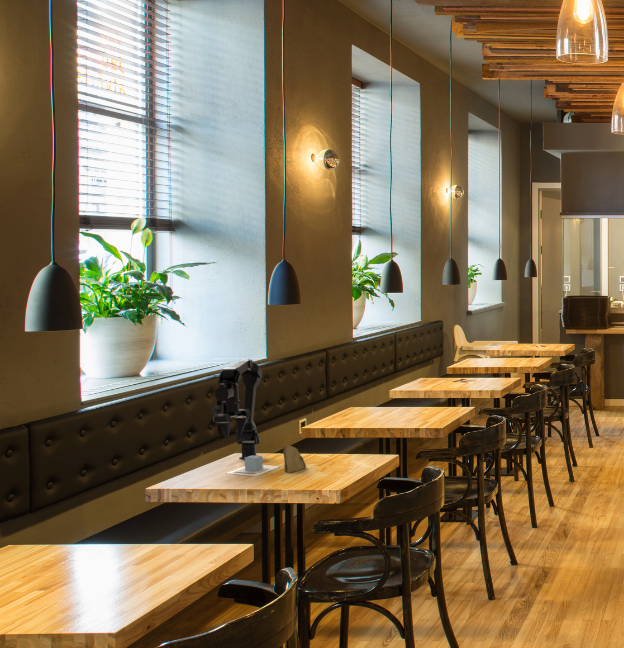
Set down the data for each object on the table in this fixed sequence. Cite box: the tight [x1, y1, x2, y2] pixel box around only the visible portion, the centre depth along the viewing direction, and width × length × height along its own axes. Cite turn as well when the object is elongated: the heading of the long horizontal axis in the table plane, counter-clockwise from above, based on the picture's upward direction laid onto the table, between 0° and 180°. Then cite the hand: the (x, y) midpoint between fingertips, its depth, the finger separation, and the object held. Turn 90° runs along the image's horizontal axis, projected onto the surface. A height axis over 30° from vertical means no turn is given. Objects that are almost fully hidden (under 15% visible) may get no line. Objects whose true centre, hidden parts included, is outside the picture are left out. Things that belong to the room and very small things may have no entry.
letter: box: [225, 464, 282, 477], centre depth 317 cm, size 18×14×1 cm
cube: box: [244, 455, 264, 471], centre depth 317 cm, size 5×5×5 cm
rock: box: [283, 444, 307, 474], centre depth 314 cm, size 11×9×10 cm
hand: (233, 436), depth 326 cm, fingers open, 9 cm apart
